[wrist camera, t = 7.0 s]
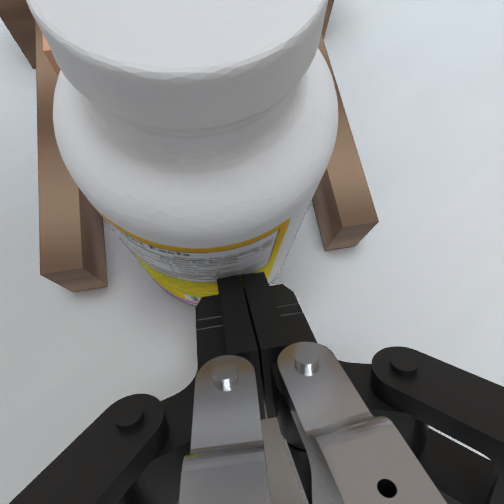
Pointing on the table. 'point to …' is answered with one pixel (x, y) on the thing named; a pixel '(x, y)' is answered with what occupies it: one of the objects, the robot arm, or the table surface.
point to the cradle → (91, 222)
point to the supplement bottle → (194, 127)
